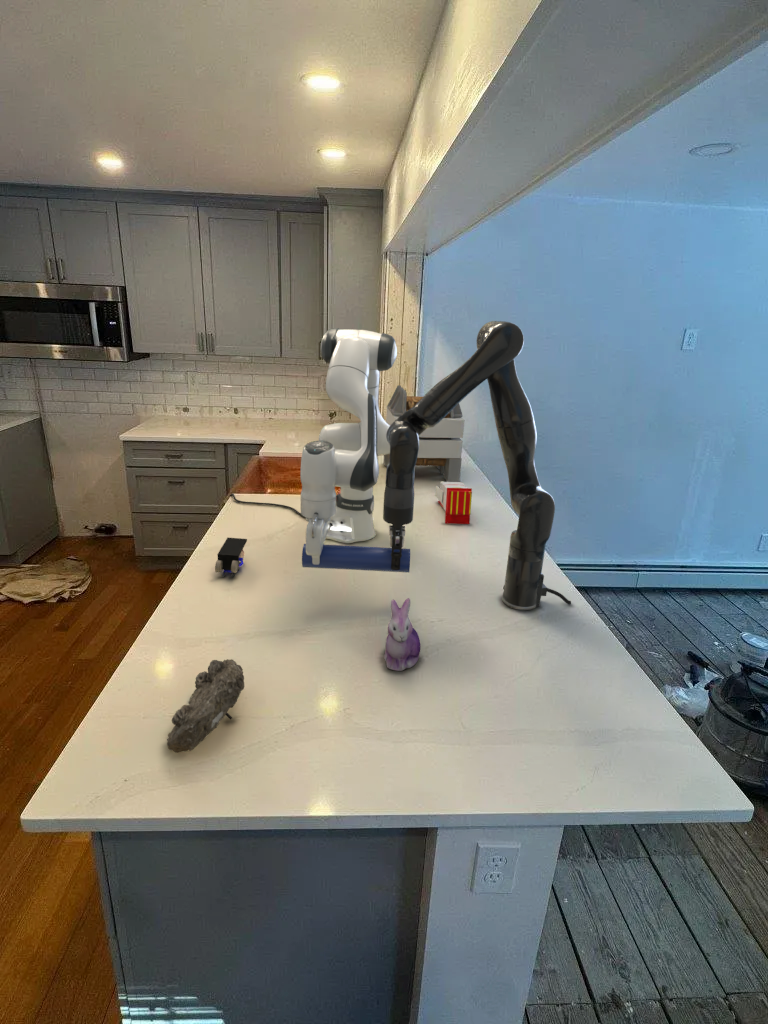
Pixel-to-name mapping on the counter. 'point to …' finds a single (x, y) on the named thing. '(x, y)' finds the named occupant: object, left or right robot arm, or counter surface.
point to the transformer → (433, 437)
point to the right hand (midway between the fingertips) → (395, 563)
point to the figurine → (401, 639)
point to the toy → (455, 502)
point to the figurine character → (230, 556)
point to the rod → (357, 558)
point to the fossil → (206, 705)
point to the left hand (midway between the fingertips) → (318, 557)
